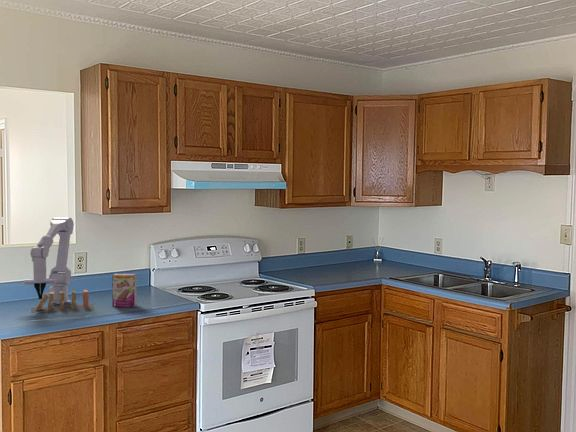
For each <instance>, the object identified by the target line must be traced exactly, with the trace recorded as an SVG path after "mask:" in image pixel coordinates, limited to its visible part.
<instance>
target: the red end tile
mask: <svg viewBox="0 0 576 432" xmlns="http://www.w3.org/2000/svg"><path fill="white" fill-rule="evenodd" d="M82 304H83V307H84V308H89V304H90V303H89V291H88V290H87V289H83V290H82Z"/></svg>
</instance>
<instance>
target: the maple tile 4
mask: <svg viewBox="0 0 576 432" xmlns="http://www.w3.org/2000/svg"><path fill="white" fill-rule="evenodd" d="M71 305H72V309H76V305H77V291H76V290H71Z"/></svg>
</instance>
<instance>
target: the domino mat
mask: <svg viewBox="0 0 576 432" xmlns="http://www.w3.org/2000/svg"><path fill="white" fill-rule="evenodd" d="M88 304H89V308H84V307H83V303H82V304H76V309H72V304H70V305H64V309H61V310H60V305H53V307H52V310H48V306H43V307H42V308H41V310H40V311H39V310H37V309H36V307H37V306H36V307H31V310H30V312H29V313H30V314H38V313H40V314H41V313H50V312H51V313H54V312H56V313H57V312H66V311H70V312H71V311H85V310H95V303H88Z"/></svg>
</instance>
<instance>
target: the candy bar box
mask: <svg viewBox="0 0 576 432" xmlns="http://www.w3.org/2000/svg"><path fill="white" fill-rule="evenodd" d="M111 279H112V281H111V282H112V287H111V289H112V306H111V307H115V308H135V307H136V306H137V274H136V273H114V274H113V275H112V278H111Z"/></svg>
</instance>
